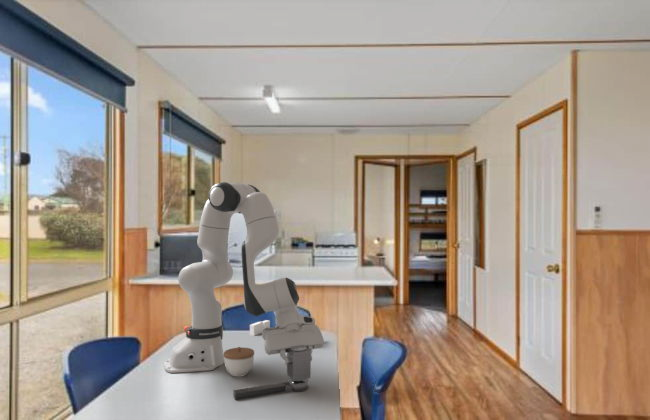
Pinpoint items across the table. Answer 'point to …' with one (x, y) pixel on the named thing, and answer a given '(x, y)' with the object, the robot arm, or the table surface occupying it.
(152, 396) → the table surface
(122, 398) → the table surface
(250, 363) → the lidded jar
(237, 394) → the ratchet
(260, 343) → the table surface
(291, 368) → the grey metal block
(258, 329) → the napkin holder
